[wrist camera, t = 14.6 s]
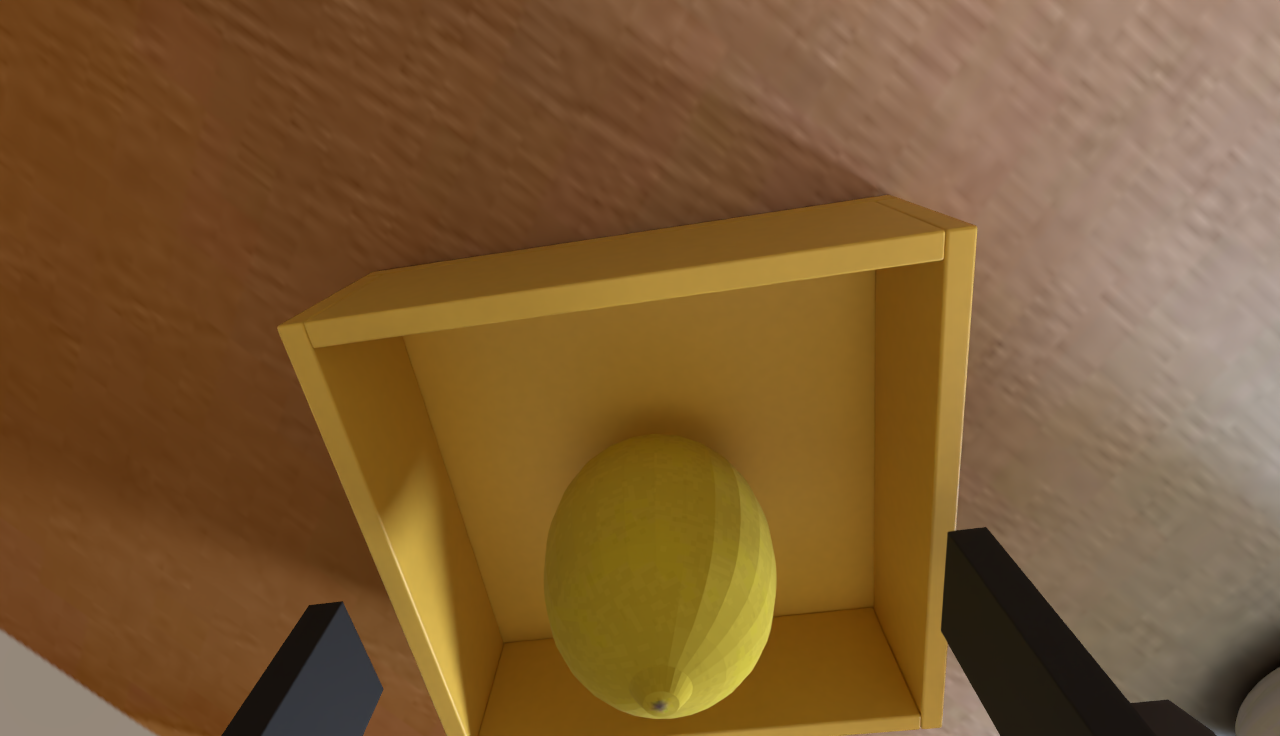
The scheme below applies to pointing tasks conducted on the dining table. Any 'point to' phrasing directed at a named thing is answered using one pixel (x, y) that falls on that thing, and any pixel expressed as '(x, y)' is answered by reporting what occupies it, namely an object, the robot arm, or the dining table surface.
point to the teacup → (1261, 709)
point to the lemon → (660, 577)
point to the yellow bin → (672, 405)
